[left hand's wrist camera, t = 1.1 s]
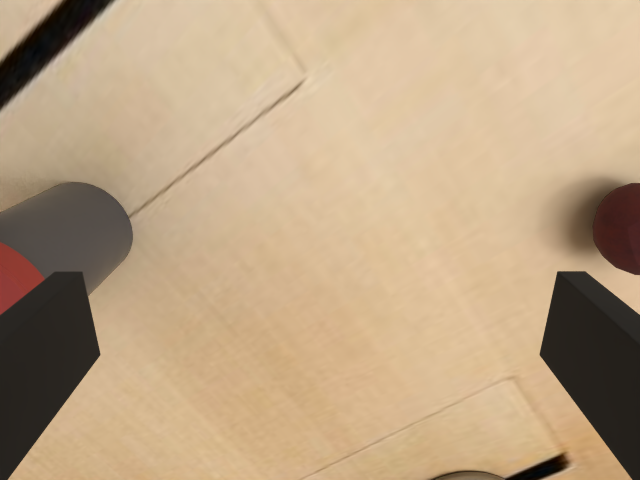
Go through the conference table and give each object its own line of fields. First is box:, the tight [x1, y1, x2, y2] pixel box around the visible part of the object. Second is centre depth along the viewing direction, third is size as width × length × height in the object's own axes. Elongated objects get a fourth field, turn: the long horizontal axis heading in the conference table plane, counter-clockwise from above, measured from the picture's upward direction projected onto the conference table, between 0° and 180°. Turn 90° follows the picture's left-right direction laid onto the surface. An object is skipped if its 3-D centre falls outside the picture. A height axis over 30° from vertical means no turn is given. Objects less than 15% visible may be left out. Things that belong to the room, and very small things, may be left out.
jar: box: [0, 182, 133, 296], centre depth 34 cm, size 9×9×16 cm
